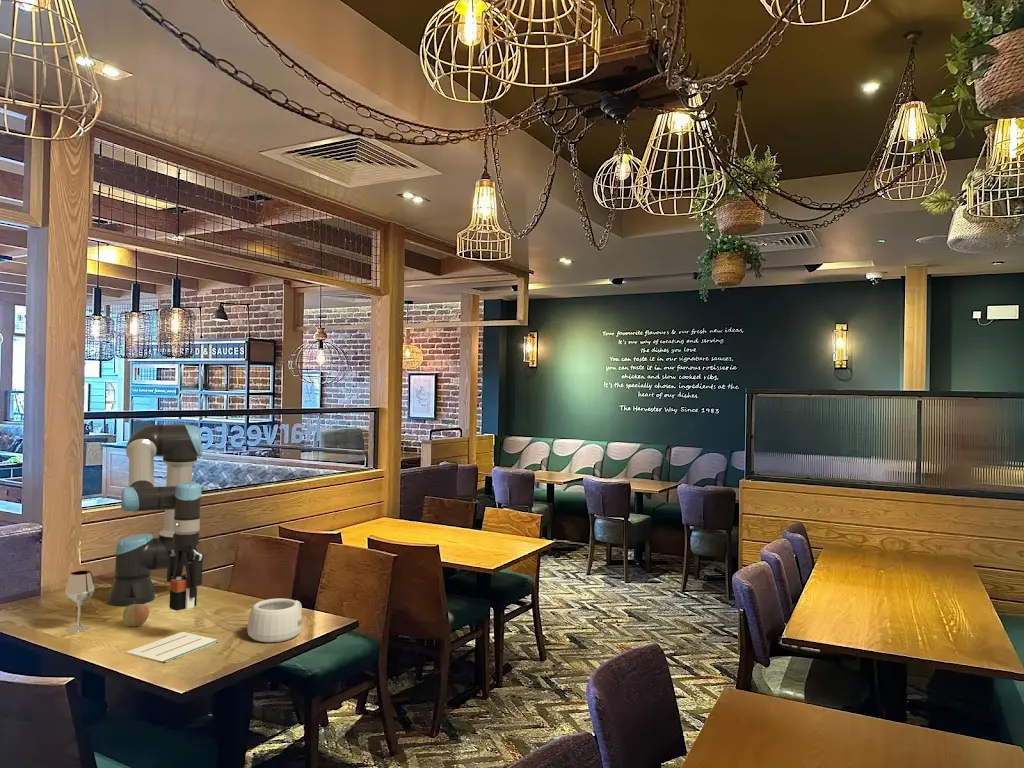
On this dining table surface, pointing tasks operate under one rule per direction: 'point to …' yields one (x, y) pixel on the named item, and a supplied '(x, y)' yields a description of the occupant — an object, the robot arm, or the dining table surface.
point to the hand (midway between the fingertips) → (183, 606)
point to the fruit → (135, 614)
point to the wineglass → (79, 594)
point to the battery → (179, 593)
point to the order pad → (172, 647)
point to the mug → (275, 620)
